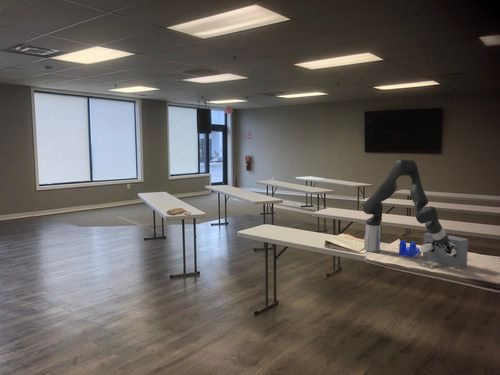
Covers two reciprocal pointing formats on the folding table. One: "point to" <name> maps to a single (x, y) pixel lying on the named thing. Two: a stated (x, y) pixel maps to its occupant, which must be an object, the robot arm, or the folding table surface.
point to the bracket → (408, 249)
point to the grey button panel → (442, 256)
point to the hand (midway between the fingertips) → (449, 252)
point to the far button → (427, 247)
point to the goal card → (428, 265)
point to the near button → (453, 252)
